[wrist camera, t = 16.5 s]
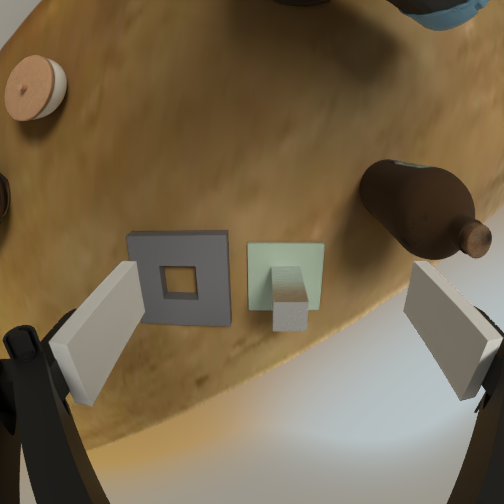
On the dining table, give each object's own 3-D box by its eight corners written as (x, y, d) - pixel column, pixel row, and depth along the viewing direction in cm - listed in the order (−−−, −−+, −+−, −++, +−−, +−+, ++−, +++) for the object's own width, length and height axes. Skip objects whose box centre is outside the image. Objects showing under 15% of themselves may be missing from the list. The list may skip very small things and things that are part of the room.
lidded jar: (88, 82, 41) (56, 77, 33) (52, 131, 44) (18, 135, 36) (56, 50, 39) (24, 42, 30) (23, 97, 42) (-11, 97, 33)
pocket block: (131, 231, 50) (126, 236, 48) (227, 230, 50) (226, 235, 48) (145, 315, 56) (141, 322, 54) (231, 318, 56) (230, 326, 53)
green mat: (247, 242, 51) (247, 243, 50) (323, 242, 50) (324, 243, 50) (248, 308, 55) (248, 310, 54) (318, 308, 54) (318, 309, 54)
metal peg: (271, 265, 51) (273, 302, 41) (299, 265, 51) (308, 301, 40) (271, 291, 53) (272, 331, 42) (298, 290, 53) (306, 330, 42)
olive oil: (398, 231, 49) (482, 308, 26) (344, 204, 48) (412, 272, 25) (426, 174, 45) (530, 217, 22) (373, 143, 44) (468, 161, 21)
